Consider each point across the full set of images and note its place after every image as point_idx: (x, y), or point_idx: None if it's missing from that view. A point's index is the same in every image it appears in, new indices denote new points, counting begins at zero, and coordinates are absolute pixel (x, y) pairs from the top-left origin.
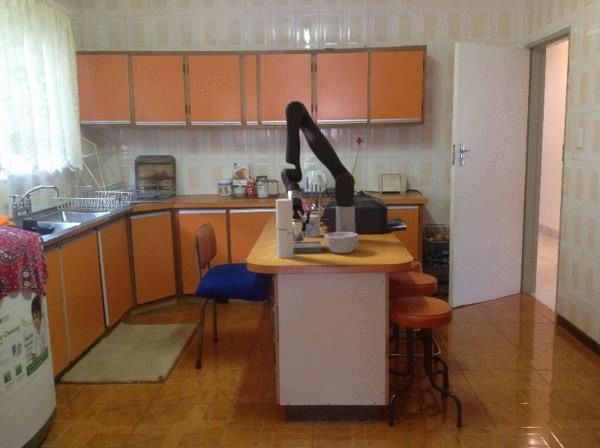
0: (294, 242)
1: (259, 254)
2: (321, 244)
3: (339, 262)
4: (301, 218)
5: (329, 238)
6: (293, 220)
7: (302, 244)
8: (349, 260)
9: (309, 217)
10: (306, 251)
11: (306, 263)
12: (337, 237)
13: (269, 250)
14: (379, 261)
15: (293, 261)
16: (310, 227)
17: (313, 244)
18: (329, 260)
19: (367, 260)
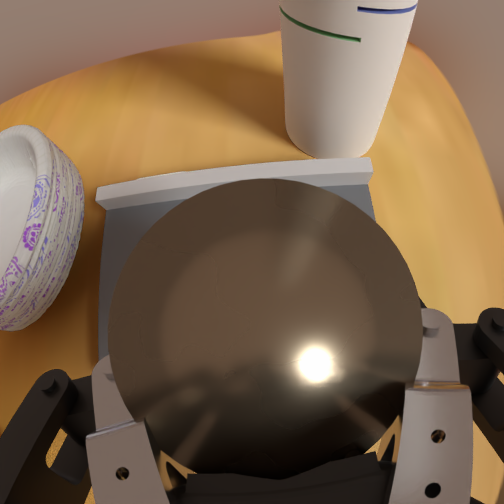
0: None
1: (474, 179)
2: (99, 188)
3: (103, 73)
4: (140, 406)
5: (46, 138)
6: (336, 201)
7: (224, 167)
8: (65, 101)
9: (9, 425)
10: None
11: (219, 42)
12: (17, 128)
13: (459, 279)
14: (10, 115)
15: (274, 56)
16: None
17: (146, 179)
18: (125, 85)
19: (25, 116)
